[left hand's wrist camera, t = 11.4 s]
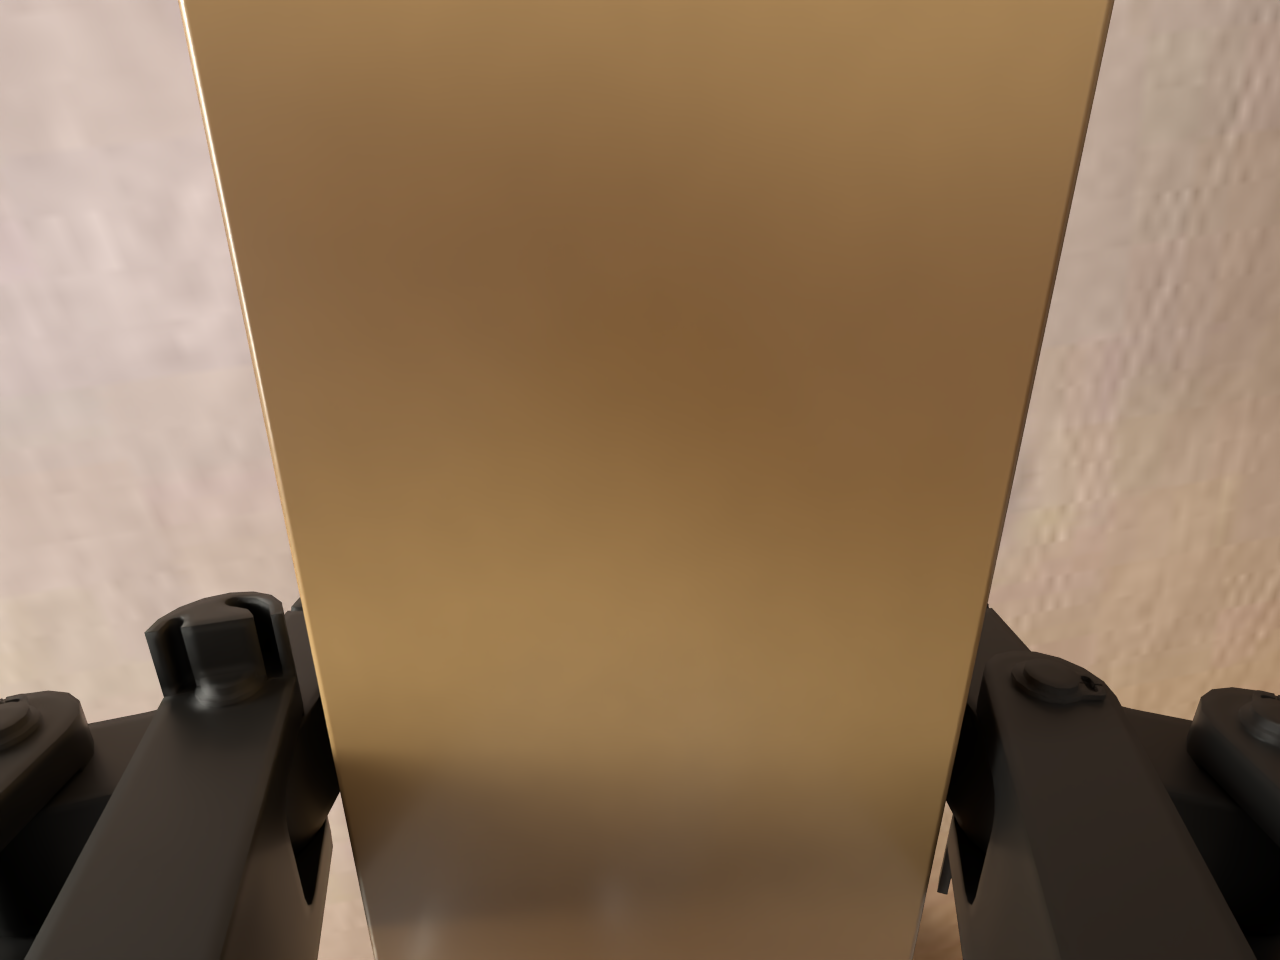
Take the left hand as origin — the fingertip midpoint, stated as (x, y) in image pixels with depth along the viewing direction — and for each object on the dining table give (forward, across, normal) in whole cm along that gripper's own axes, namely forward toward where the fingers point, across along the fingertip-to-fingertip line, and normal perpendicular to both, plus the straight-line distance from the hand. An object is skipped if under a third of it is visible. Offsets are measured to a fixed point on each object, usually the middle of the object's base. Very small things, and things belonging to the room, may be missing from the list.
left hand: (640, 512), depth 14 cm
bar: (+1, 0, -10) cm, 10 cm away
